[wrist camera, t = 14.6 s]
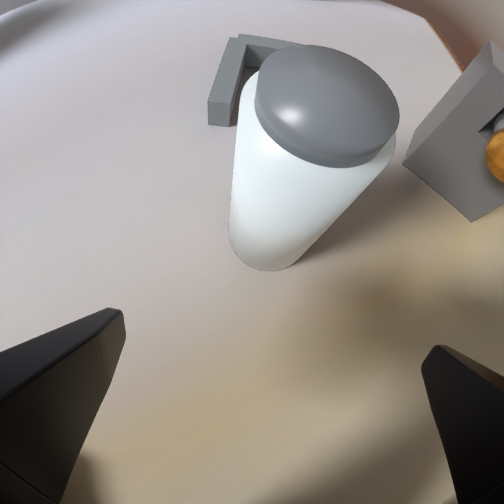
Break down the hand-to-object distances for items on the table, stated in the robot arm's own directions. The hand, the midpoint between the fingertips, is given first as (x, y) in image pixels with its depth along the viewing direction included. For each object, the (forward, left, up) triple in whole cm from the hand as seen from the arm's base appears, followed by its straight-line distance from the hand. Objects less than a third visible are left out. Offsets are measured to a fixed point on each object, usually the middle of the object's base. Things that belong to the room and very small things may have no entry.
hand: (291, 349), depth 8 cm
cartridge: (+5, -4, -9) cm, 12 cm away
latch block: (+3, -20, -9) cm, 23 cm away
